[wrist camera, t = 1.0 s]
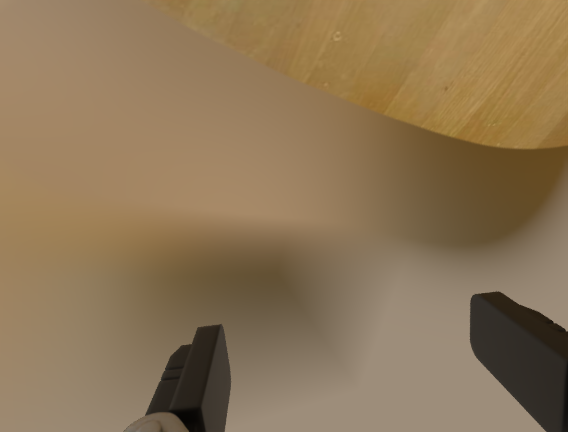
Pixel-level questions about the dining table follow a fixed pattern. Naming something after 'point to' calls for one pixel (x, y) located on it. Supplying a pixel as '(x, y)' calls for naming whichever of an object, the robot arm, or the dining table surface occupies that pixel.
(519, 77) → the dining table surface
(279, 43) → the dining table surface
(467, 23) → the dining table surface
